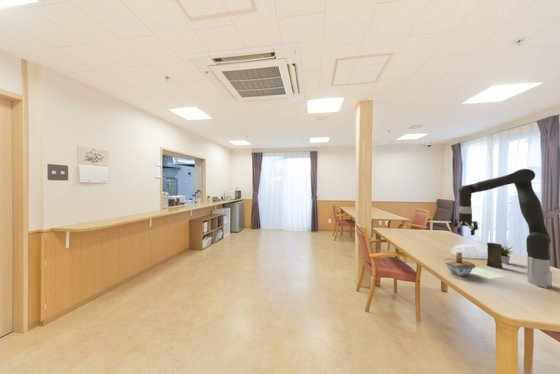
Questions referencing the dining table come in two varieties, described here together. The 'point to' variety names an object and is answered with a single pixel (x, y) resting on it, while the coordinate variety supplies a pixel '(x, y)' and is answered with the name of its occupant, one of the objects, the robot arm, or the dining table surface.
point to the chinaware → (459, 270)
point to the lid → (459, 262)
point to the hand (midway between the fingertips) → (465, 234)
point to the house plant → (505, 255)
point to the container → (494, 255)
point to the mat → (486, 273)
